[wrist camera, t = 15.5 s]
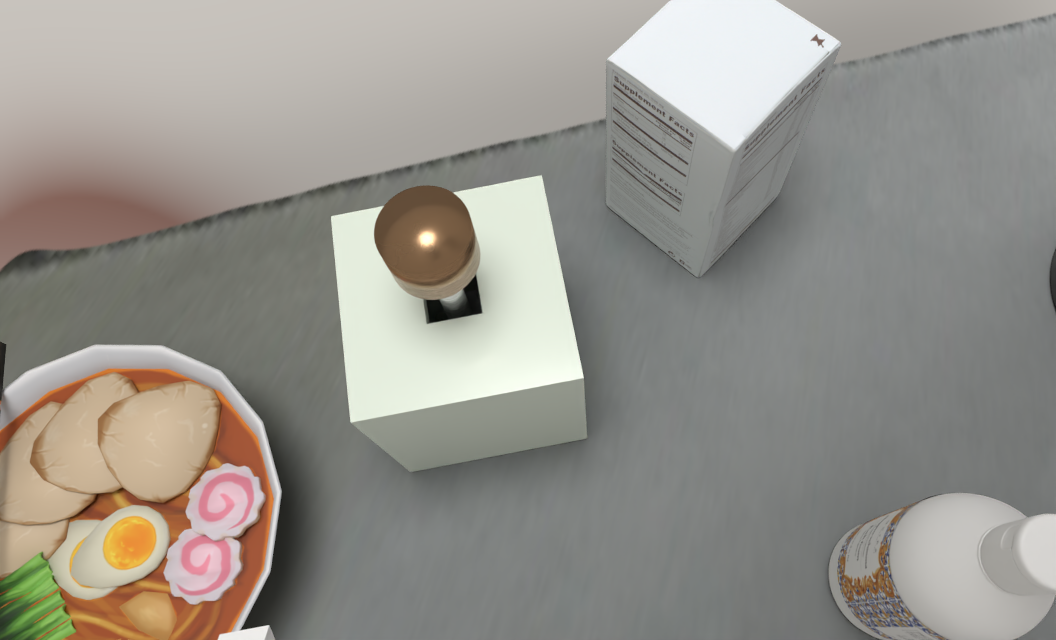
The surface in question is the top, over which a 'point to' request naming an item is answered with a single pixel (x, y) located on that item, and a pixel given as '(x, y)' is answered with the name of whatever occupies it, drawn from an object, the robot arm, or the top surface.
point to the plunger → (431, 250)
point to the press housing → (463, 341)
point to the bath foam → (947, 571)
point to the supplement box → (709, 119)
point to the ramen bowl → (131, 499)
